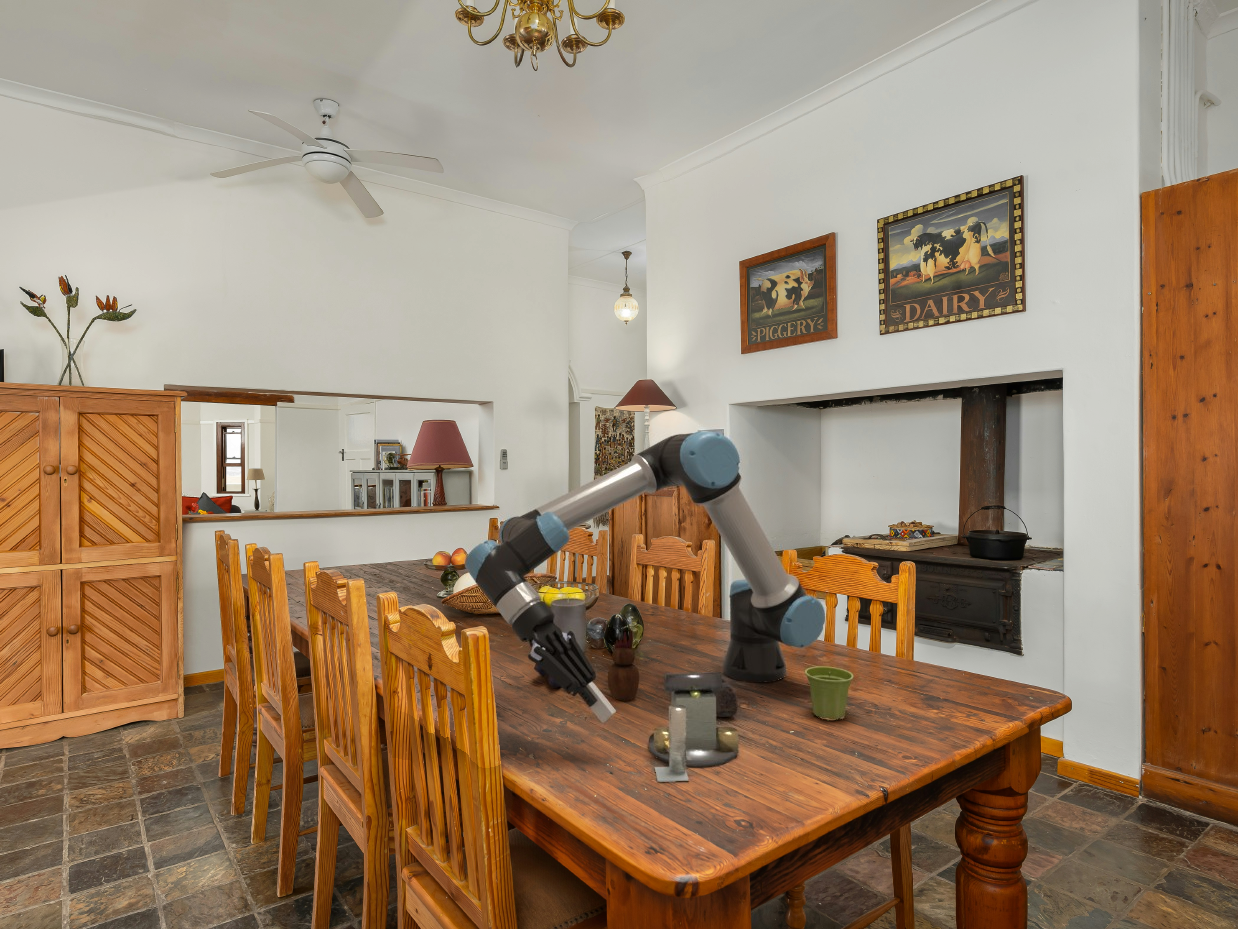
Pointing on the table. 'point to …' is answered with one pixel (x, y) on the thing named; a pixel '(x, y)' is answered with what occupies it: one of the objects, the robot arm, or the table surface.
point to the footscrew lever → (673, 738)
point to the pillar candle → (571, 618)
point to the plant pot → (829, 690)
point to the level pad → (670, 775)
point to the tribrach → (700, 720)
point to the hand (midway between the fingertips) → (609, 717)
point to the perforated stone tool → (726, 700)
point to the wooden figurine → (623, 671)
